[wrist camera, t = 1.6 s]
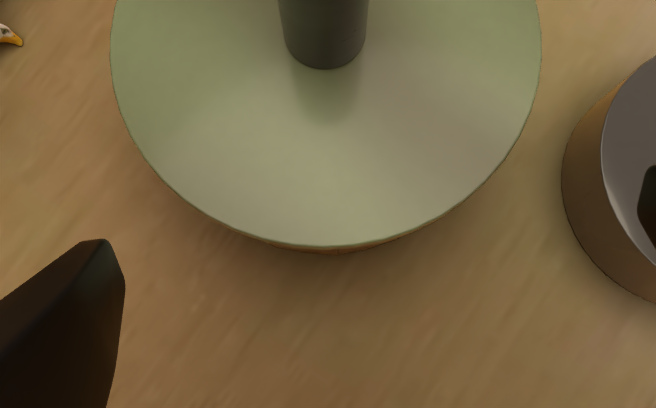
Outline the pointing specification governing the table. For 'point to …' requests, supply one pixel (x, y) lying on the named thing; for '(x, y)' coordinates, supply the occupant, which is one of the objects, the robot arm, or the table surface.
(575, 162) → the disc
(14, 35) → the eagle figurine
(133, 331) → the table surface
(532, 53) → the lid
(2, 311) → the robot arm
